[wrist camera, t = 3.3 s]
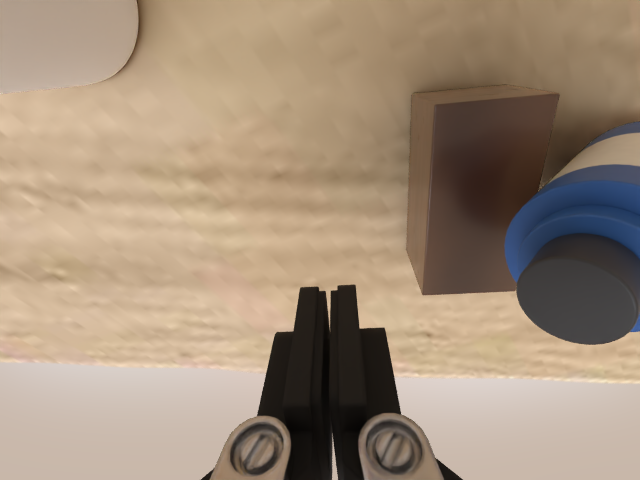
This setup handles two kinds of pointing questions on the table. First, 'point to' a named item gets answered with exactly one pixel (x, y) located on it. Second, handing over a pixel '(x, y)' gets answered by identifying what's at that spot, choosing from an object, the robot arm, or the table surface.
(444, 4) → the table surface
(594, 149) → the bottle
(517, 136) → the block
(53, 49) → the pill bottle
